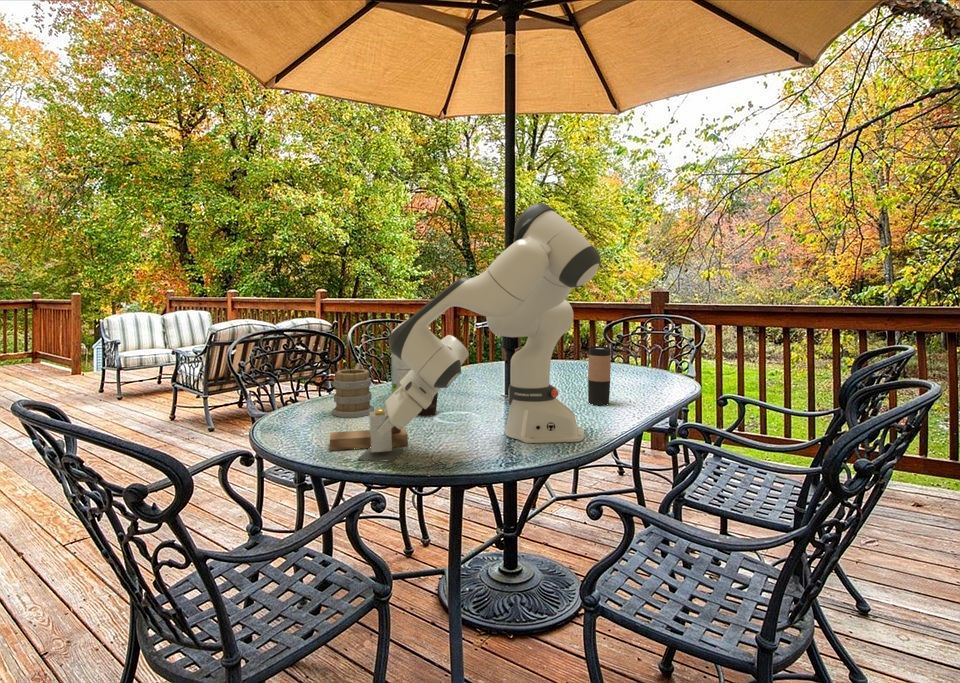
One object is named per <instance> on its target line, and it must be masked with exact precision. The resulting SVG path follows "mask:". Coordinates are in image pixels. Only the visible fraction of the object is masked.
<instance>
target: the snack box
mask: <svg viewBox="0 0 960 683" xmlns="http://www.w3.org/2000/svg"><path fill="white" fill-rule="evenodd" d="M394 329H395V328H394ZM394 329H393V328H392V330H391V331H393V330H394ZM410 370H411V368H410V367H409V366H408V365H407V364H406V363H405V362H404V361H403V360H401V359H400V358H398V357H397V356H396V355H394V354H393V353H392V352H391V395H392V394H393V393H394V392H395V391H396V390H397V389H398V388H399V387H400V386H402V385H401V384H400V383H399V382H400V381H401V380H402V379H403V378H404V377H405V375H406V374H407V373H408V372H409V371H410Z"/></svg>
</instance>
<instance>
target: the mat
mask: <svg viewBox="0 0 960 683" xmlns="http://www.w3.org/2000/svg"><path fill="white" fill-rule="evenodd" d="M403 451H404V448H395V447H394V448H393V447H392V451H383V452H371V448H368V449H366V450H365V451H364V452H363V453H362V454H361V455H360V456H359V457H358V458H357V460H358V459H368V460H388V461H387V462H391V461H394V460H395V459H396V460H397V458H398V457H399V456H400V455H401V454H402V453H403ZM400 453H401V454H400ZM399 454H400V455H399ZM398 455H399V456H398ZM397 456H398V457H397ZM396 457H397V458H396ZM396 460H395V461H396ZM395 461H394V462H395Z"/></svg>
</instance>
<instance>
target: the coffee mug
mask: <svg viewBox="0 0 960 683" xmlns="http://www.w3.org/2000/svg"><path fill="white" fill-rule="evenodd" d="M438 396H439V391H438V392H437V393H436V394H435V396H434V397H433V398H432V400H431V404H430V405H429V406H428V407H427V408H426V409H424V408H423V407H422V410H421V412H420V413H419V414H418V415H417V416H420V417H431V415H432V416H436V414H437V406H438Z"/></svg>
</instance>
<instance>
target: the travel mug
mask: <svg viewBox="0 0 960 683" xmlns="http://www.w3.org/2000/svg"><path fill="white" fill-rule="evenodd" d="M611 349H612V348H611V347H609V346H603V345H602V346H600V345H599V346H597V345H596V346H589V347H588V370H587V372H588V373H587V375H588V376H587V394H588V395H587V398H588V401H587V402H588V404H589V403H590V404H593V405H592V406H594V405H607V404H609V405H610V393H611V392H610V391H611V366H612V365H611V364H612V363H611V360H612V359H611V358H612V357H611V356H612V354H611V353H612V351H611ZM590 404H589V405H590ZM607 406H608V405H607Z"/></svg>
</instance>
